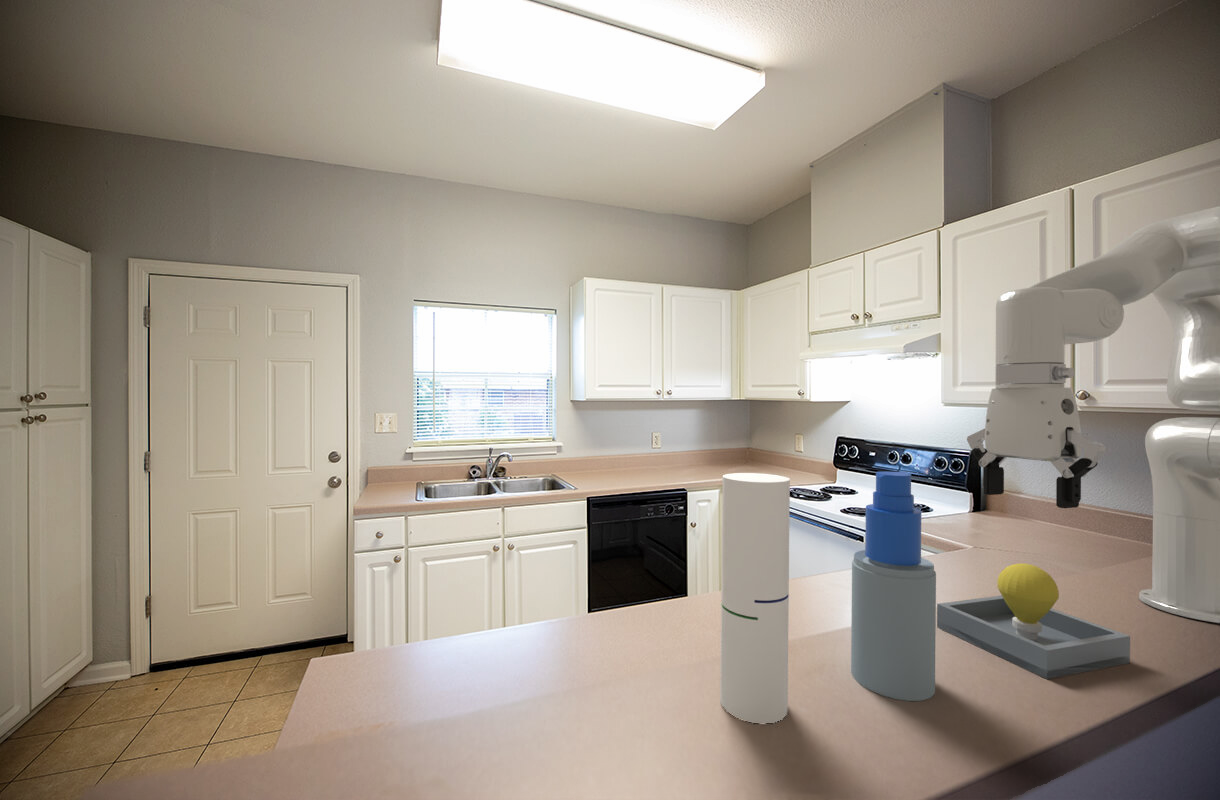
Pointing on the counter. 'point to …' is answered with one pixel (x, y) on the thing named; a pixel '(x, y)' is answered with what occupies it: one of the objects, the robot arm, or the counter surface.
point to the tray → (1051, 655)
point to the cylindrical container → (755, 596)
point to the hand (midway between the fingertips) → (1028, 500)
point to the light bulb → (1027, 596)
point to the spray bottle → (893, 598)
